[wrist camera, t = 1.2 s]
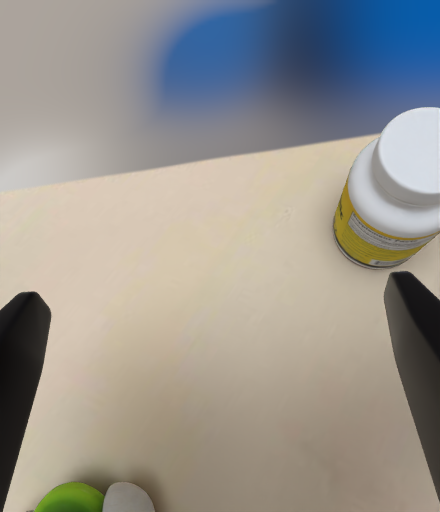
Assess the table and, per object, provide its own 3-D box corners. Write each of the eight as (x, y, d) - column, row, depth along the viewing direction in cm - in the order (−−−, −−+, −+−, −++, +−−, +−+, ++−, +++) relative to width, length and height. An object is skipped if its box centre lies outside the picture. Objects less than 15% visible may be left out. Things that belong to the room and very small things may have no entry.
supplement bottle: (362, 176, 26) (410, 70, 17) (436, 222, 25) (534, 133, 15) (313, 237, 25) (335, 161, 16) (386, 288, 24) (457, 237, 15)
